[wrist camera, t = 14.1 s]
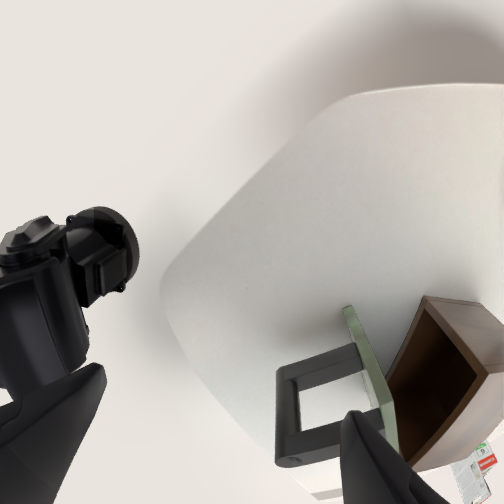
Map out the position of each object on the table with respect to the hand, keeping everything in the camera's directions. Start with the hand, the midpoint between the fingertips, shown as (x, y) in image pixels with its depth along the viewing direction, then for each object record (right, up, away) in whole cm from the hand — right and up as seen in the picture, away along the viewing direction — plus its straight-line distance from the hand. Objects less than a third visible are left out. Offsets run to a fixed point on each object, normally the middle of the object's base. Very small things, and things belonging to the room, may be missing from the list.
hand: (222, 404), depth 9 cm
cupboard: (+19, -5, +14) cm, 24 cm away
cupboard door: (+8, -5, +15) cm, 18 cm away
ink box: (+35, -24, +20) cm, 47 cm away
